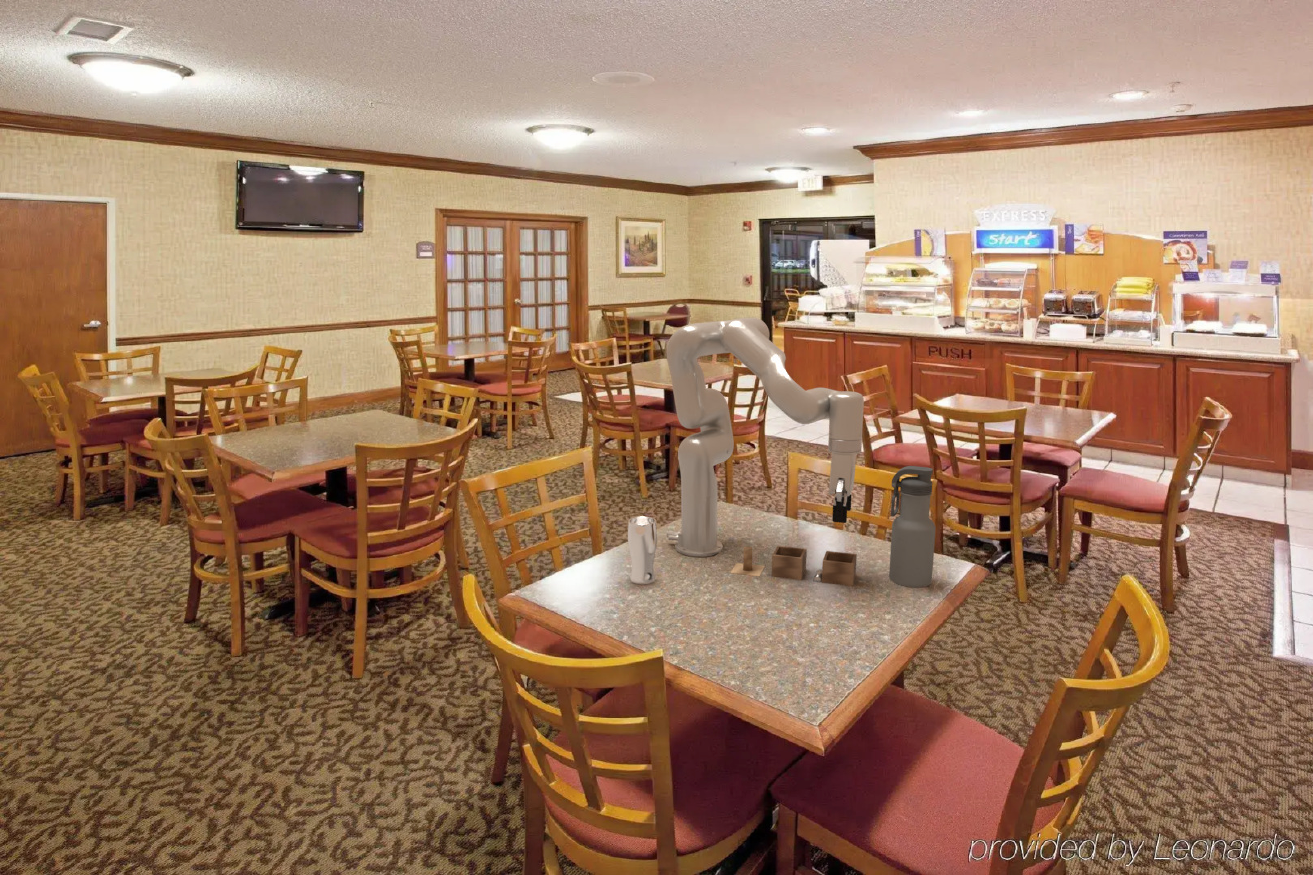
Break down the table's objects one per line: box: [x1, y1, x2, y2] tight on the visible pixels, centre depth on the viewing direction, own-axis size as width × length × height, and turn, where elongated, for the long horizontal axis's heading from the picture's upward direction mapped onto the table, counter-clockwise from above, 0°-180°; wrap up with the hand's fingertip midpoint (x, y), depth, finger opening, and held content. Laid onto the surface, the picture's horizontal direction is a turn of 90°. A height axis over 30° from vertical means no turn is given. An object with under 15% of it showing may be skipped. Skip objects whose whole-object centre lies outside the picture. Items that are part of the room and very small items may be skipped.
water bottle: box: [888, 465, 936, 588], centre depth 188 cm, size 10×10×28 cm
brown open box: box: [771, 545, 808, 581], centre depth 195 cm, size 7×7×6 cm
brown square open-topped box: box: [821, 550, 858, 587], centre depth 191 cm, size 7×7×6 cm
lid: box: [730, 545, 765, 577], centre depth 197 cm, size 7×7×7 cm
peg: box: [812, 569, 822, 583], centre depth 192 cm, size 5×2×2 cm
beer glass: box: [627, 516, 658, 585], centre depth 191 cm, size 7×7×15 cm
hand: (841, 516), depth 188 cm, fingers open, 9 cm apart
